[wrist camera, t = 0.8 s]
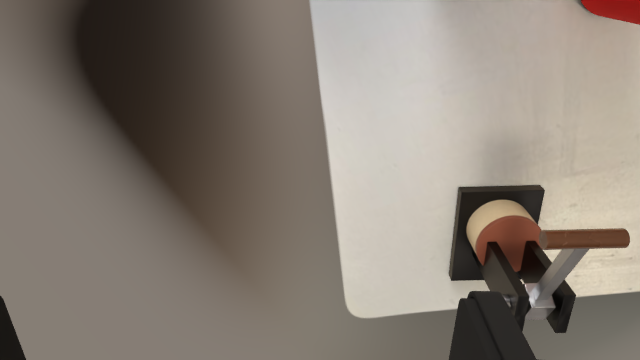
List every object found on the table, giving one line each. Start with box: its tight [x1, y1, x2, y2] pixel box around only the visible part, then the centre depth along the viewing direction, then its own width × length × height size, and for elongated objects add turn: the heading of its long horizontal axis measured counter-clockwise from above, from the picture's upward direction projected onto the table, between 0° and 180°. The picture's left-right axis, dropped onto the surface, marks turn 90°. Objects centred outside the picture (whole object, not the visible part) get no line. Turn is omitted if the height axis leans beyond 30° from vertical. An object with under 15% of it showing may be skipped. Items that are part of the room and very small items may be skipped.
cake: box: [466, 200, 543, 272], centre depth 50 cm, size 7×7×4 cm
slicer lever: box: [523, 228, 630, 320], centre depth 39 cm, size 13×6×2 cm, turn 2°
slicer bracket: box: [449, 185, 576, 333], centre depth 48 cm, size 12×9×14 cm
